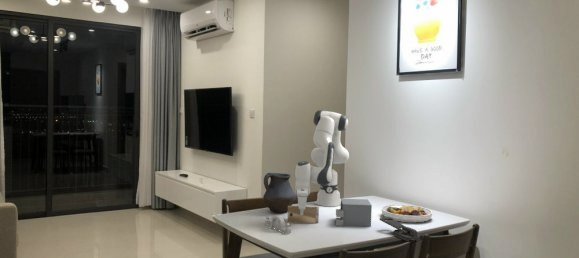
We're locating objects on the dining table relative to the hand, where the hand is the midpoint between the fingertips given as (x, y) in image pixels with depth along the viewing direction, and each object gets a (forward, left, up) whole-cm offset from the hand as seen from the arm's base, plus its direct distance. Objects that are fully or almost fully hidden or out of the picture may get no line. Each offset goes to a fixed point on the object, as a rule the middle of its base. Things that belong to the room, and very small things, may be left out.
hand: (301, 214), depth 263 cm
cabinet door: (+1, +1, -5) cm, 5 cm away
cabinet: (-3, +29, -5) cm, 30 cm away
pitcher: (-24, -15, -5) cm, 28 cm away
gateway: (+18, -13, -6) cm, 23 cm away
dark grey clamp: (+19, +52, -5) cm, 55 cm away
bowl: (-20, +64, -5) cm, 67 cm away
